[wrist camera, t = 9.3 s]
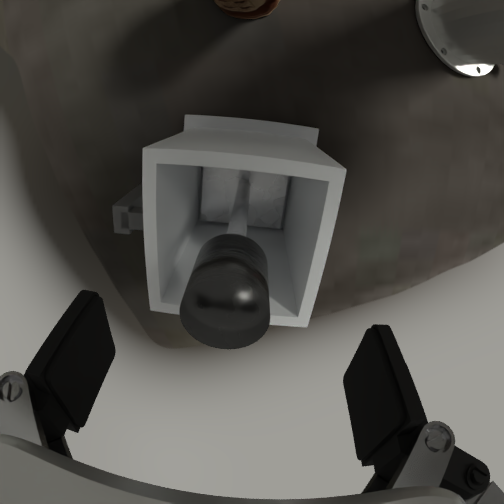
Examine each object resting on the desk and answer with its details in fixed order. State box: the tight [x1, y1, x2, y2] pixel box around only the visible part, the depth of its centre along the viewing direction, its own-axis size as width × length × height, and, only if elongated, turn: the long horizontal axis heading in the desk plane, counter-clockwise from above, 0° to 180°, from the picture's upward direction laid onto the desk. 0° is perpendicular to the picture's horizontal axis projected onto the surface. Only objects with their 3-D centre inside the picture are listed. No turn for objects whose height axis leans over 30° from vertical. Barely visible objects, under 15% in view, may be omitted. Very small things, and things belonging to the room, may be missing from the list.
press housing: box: [112, 115, 347, 327], centre depth 23 cm, size 15×13×15 cm
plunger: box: [179, 166, 289, 349], centre depth 20 cm, size 8×8×20 cm
